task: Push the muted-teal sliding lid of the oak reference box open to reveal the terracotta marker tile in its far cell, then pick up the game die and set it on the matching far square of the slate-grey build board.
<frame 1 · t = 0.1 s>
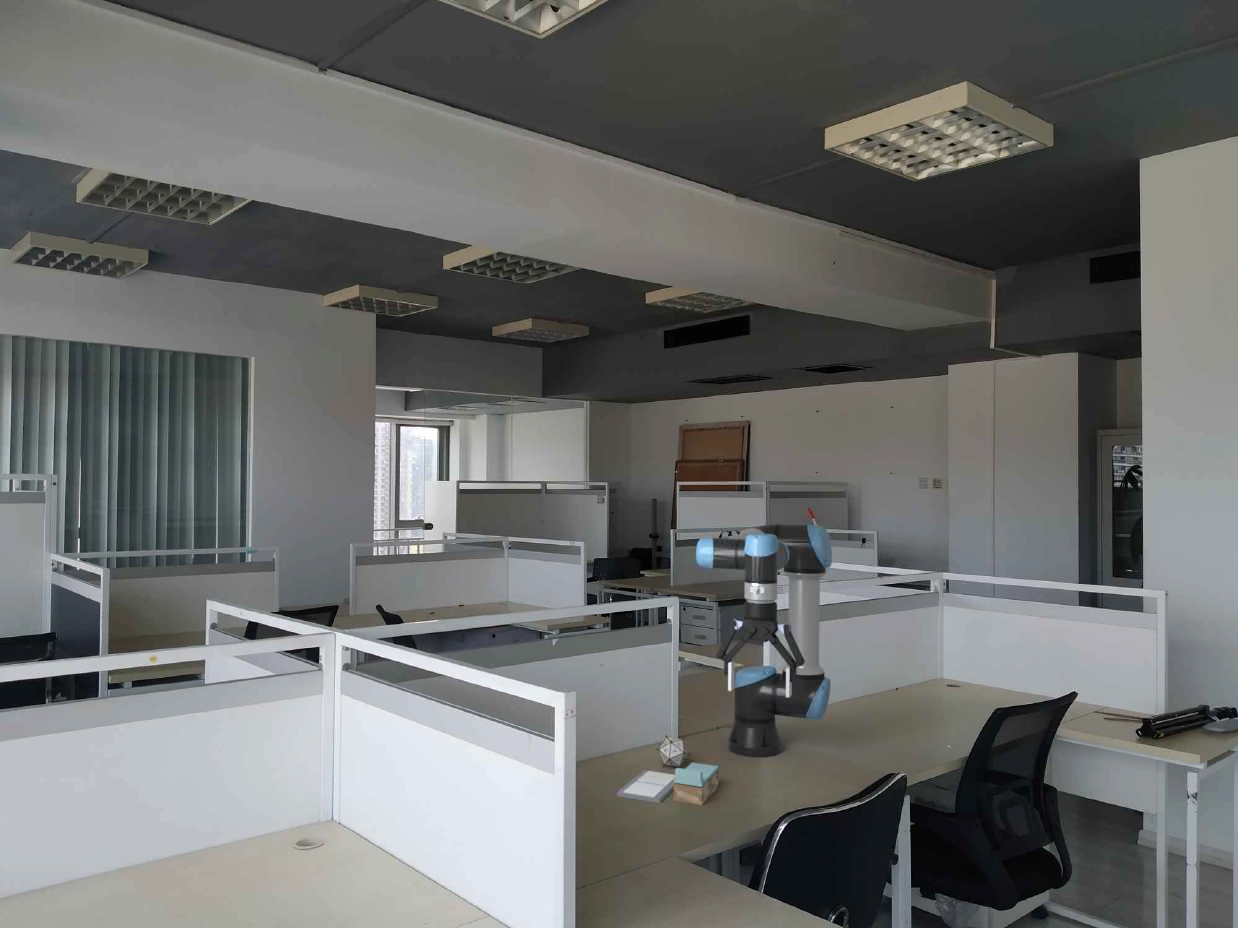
hand: (759, 692, 207), 28 cm above the table, fingers open, 13 cm apart
build board: (651, 787, 224), on the table
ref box: (696, 793, 220), on the table
game die: (673, 767, 241), on the table
lid: (696, 769, 220), point 6 cm above the table, slide at 0.0 cm
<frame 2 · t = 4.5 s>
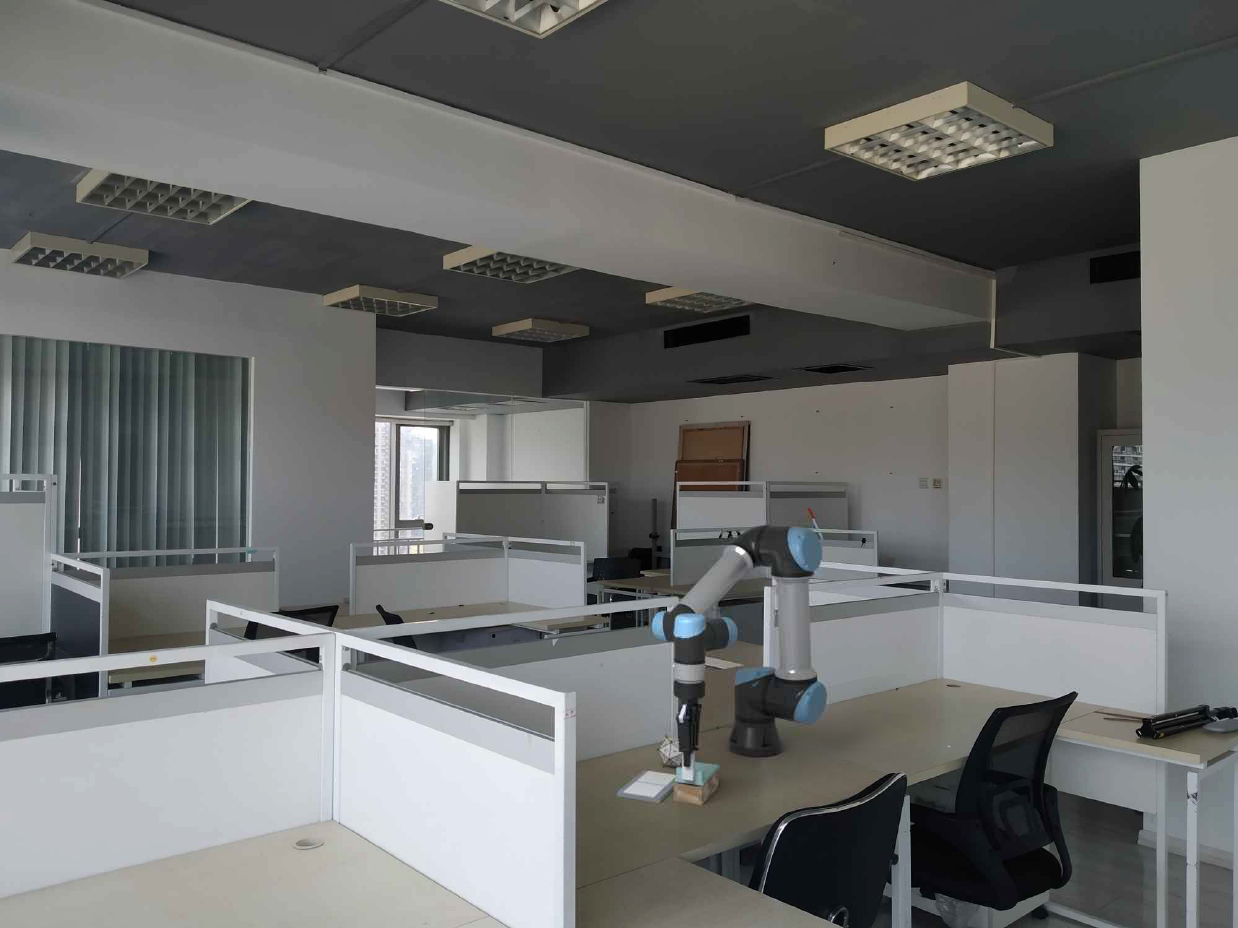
hand: (688, 778, 214), 6 cm above the table, fingers closed
lid: (697, 768, 221), point 6 cm above the table, slide at 0.8 cm, touching gripper
everything else where it was.
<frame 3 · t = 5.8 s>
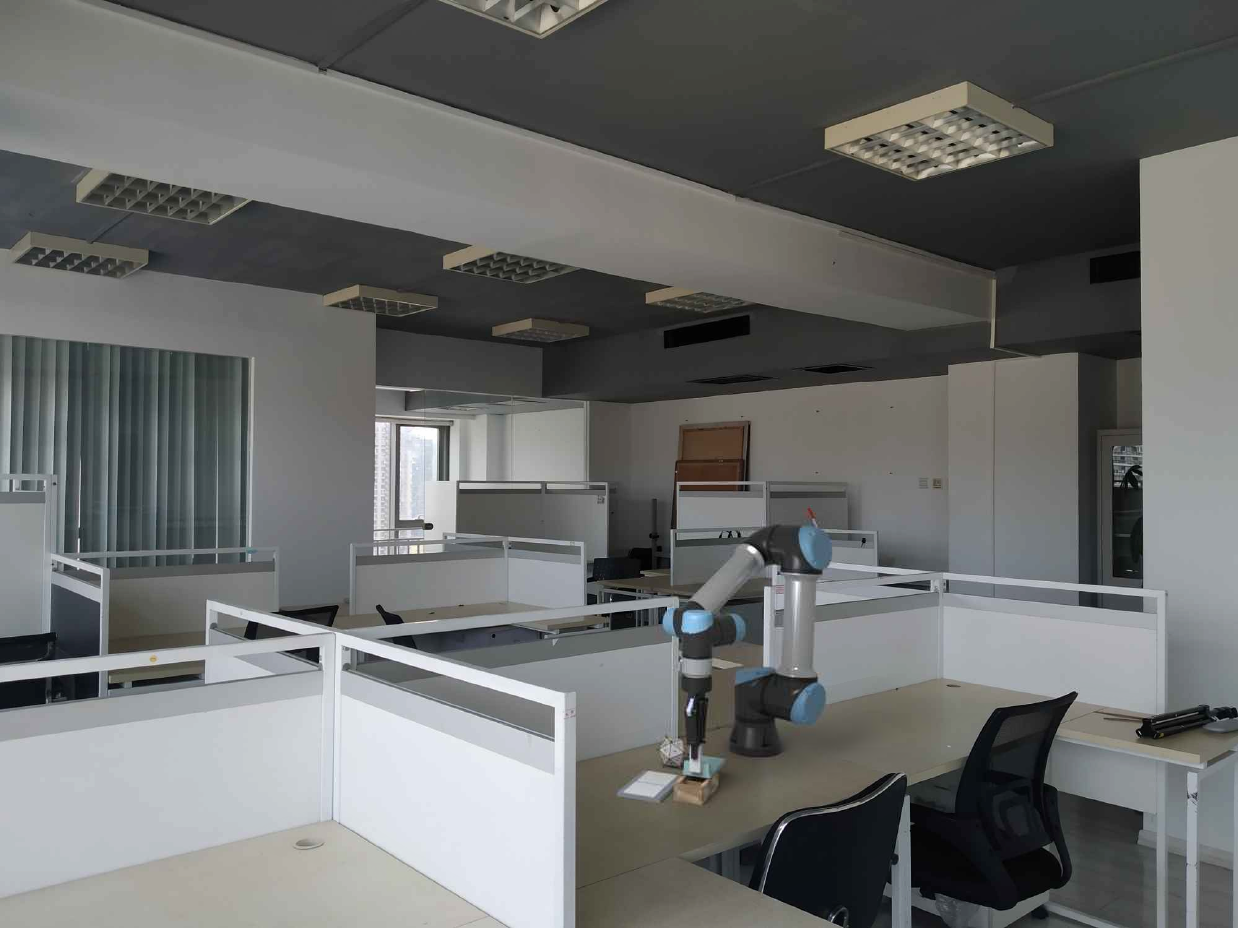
hand: (695, 770, 219), 6 cm above the table, fingers closed
lid: (704, 761, 226), point 6 cm above the table, slide at 6.6 cm, touching gripper
everything else where it was.
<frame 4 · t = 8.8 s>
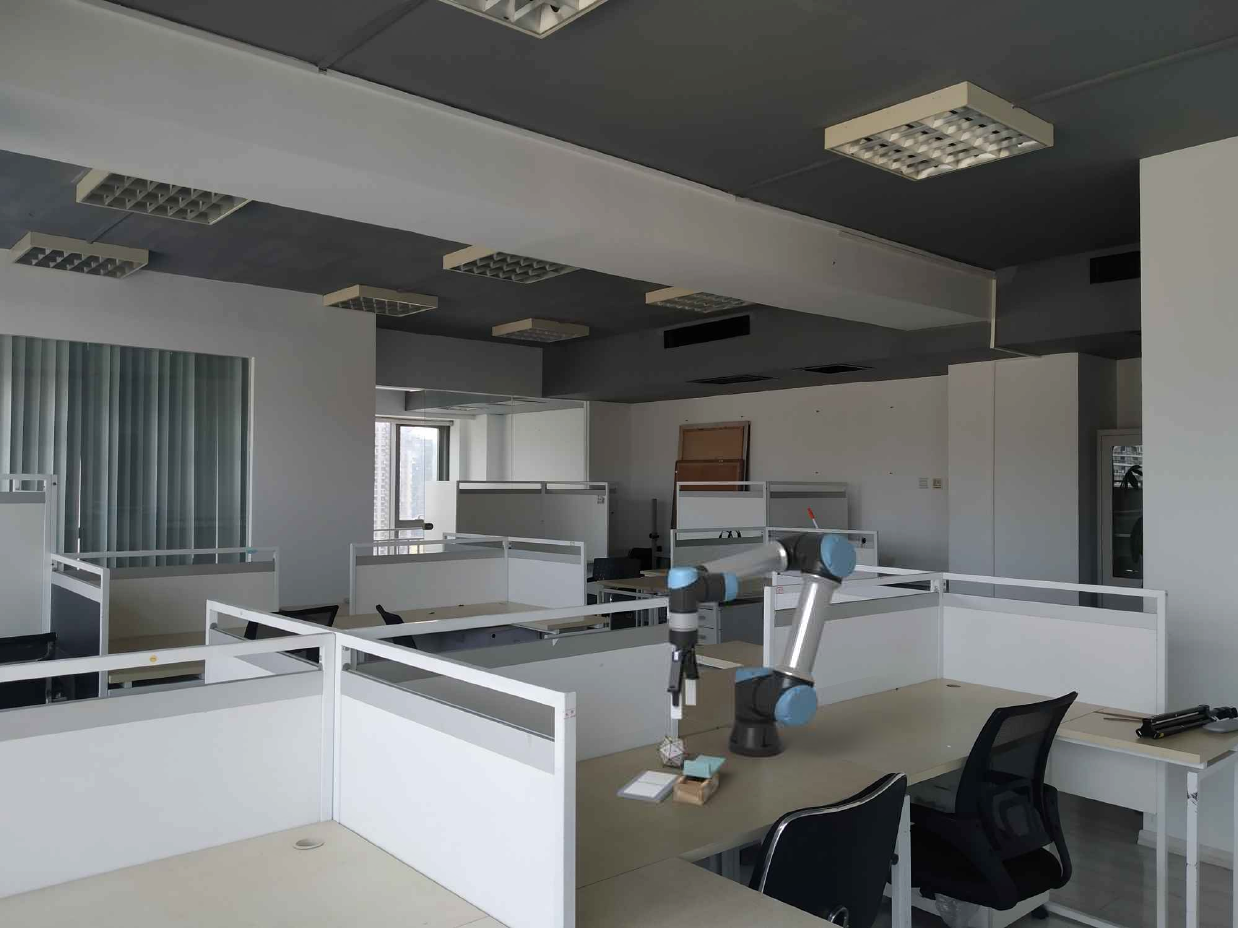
hand: (684, 711, 230), 18 cm above the table, fingers open, 13 cm apart
lid: (704, 761, 227), point 6 cm above the table, slide at 6.7 cm
everything else where it was.
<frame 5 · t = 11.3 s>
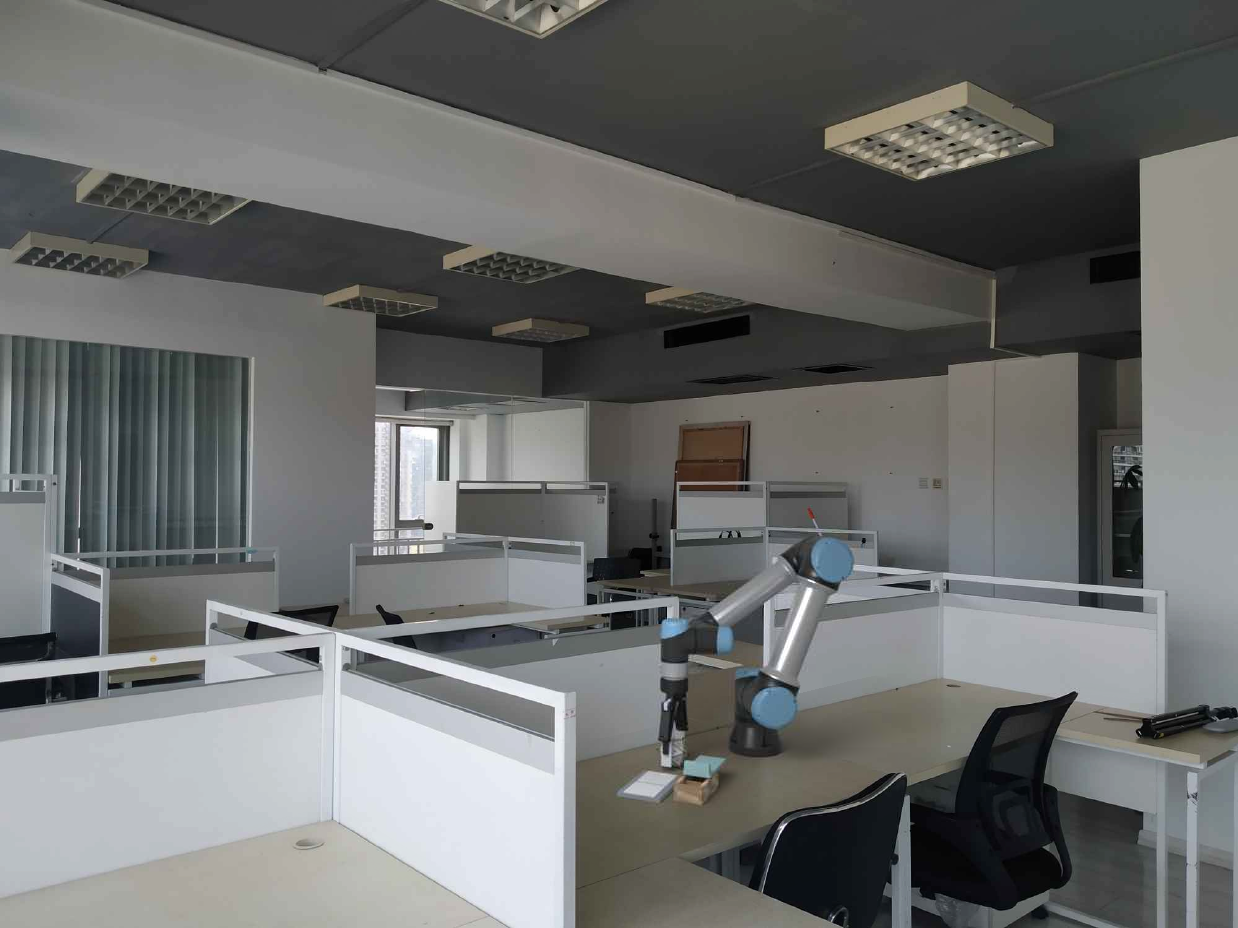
hand: (673, 760, 241), 2 cm above the table, fingers open, 10 cm apart
game die: (673, 767, 241), on the table, touching gripper
everything else where it was.
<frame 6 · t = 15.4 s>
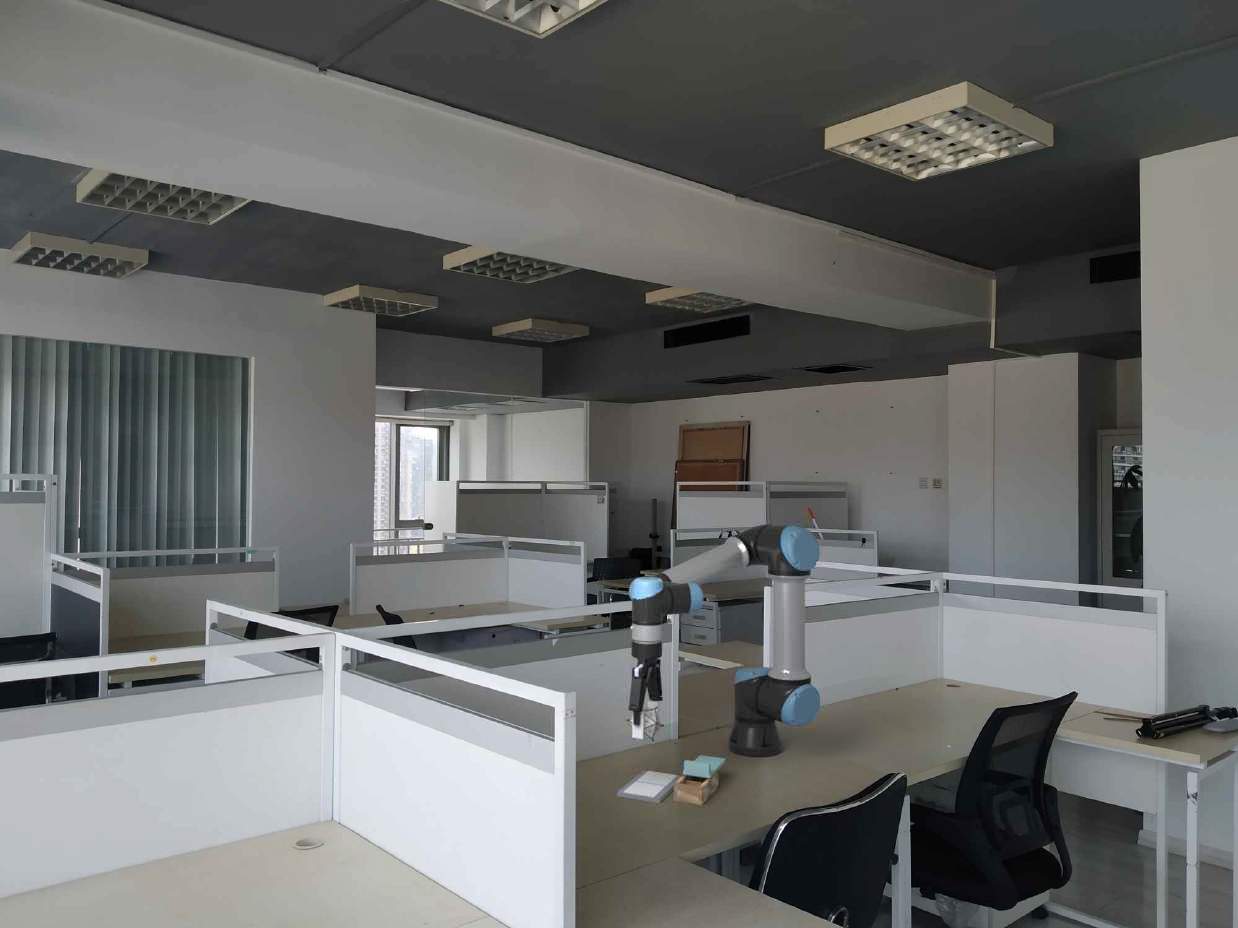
hand: (645, 732, 220), 15 cm above the table, fingers closed on game die, 9 cm apart
game die: (645, 739, 220), point 13 cm above the table, touching gripper
everything else where it was.
when the fingers open (4 cm above the table, at t = 19.3 s): game die stays where it is, resting on build board.
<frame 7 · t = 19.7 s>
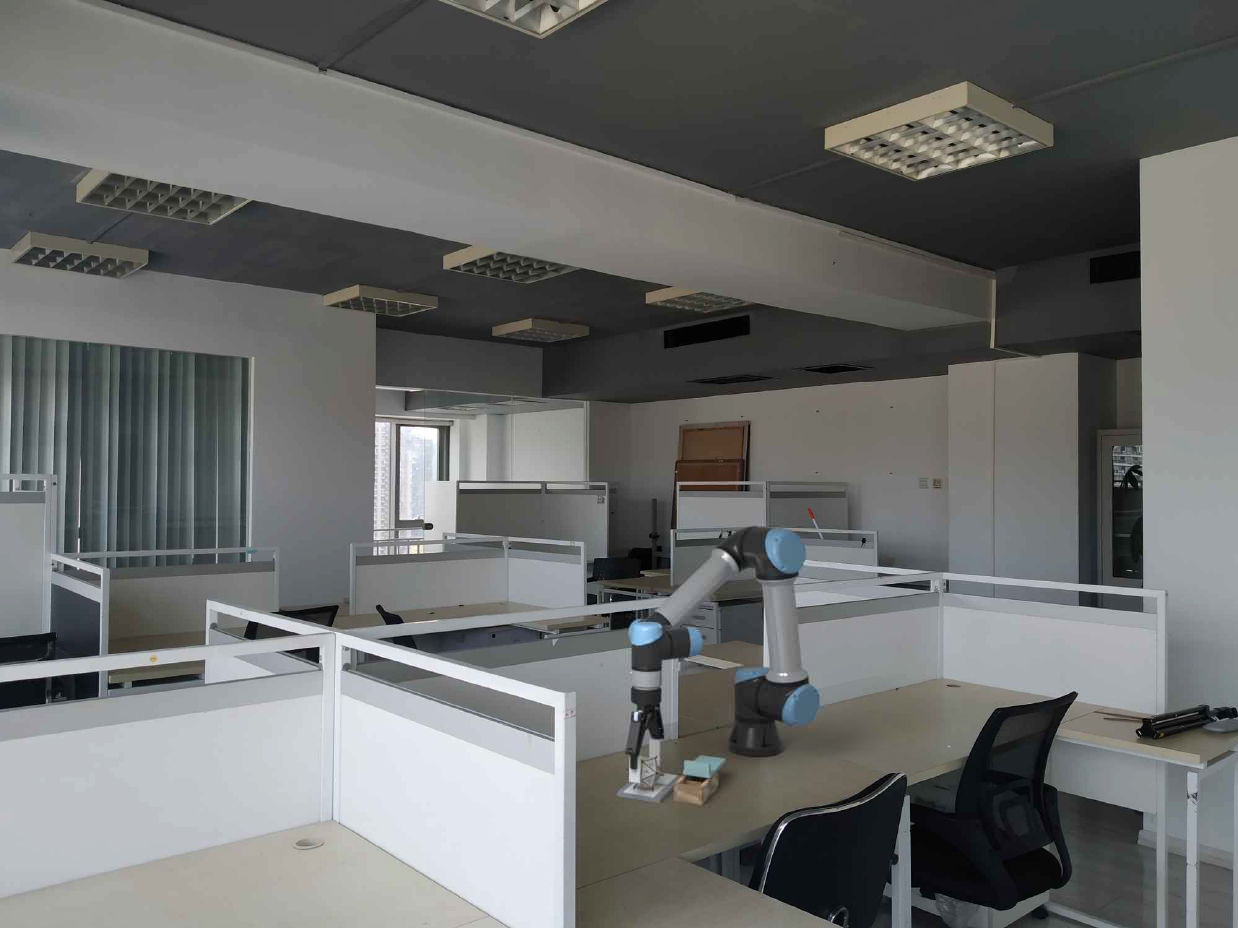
hand: (645, 773, 220), 5 cm above the table, fingers open, 13 cm apart
game die: (645, 789, 220), point 1 cm above the table, touching build board
everything else where it was.
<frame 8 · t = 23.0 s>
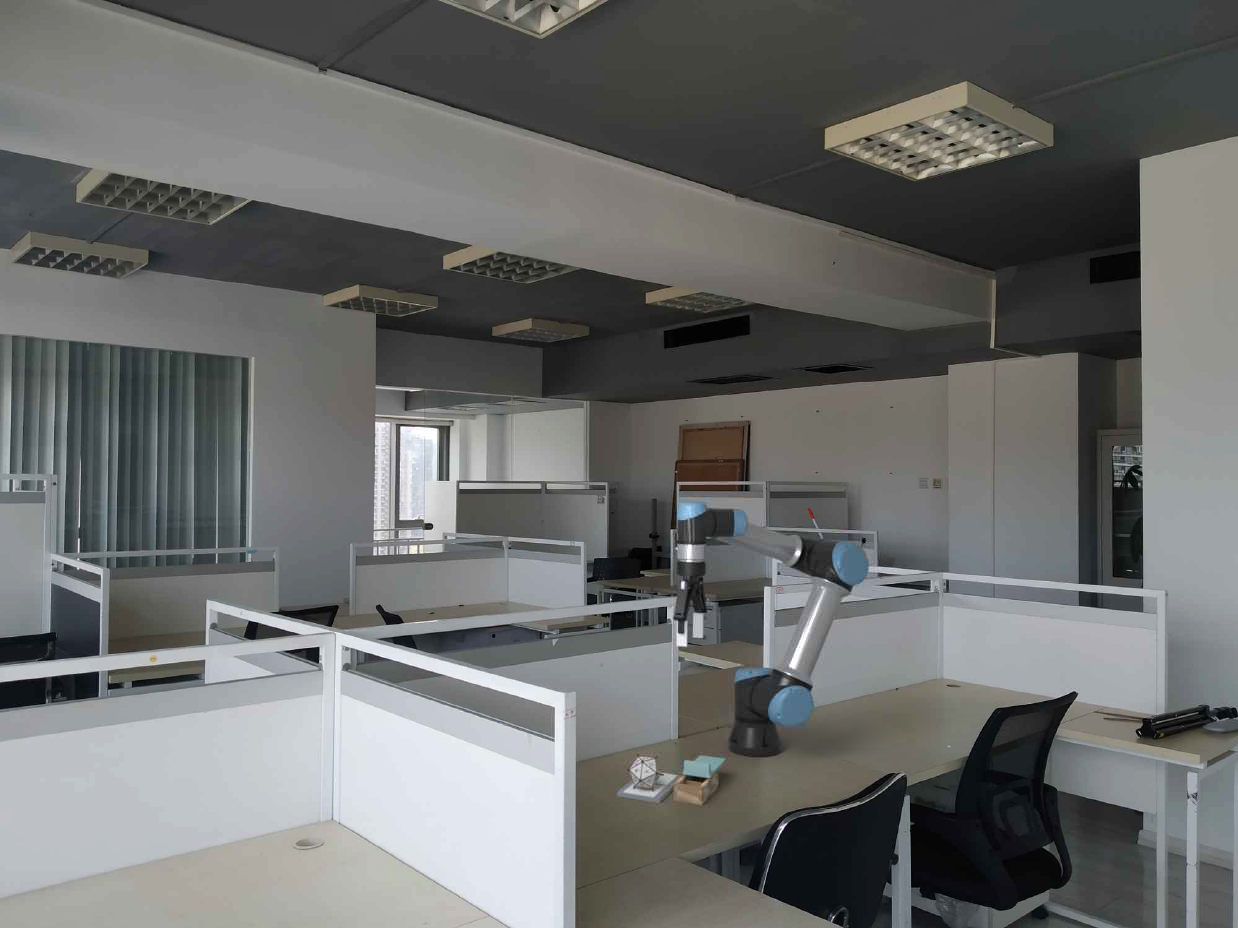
hand: (690, 641, 234), 35 cm above the table, fingers open, 13 cm apart
nothing on the table moved.
at the end: lid slide at 6.7 cm; game die touching build board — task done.
